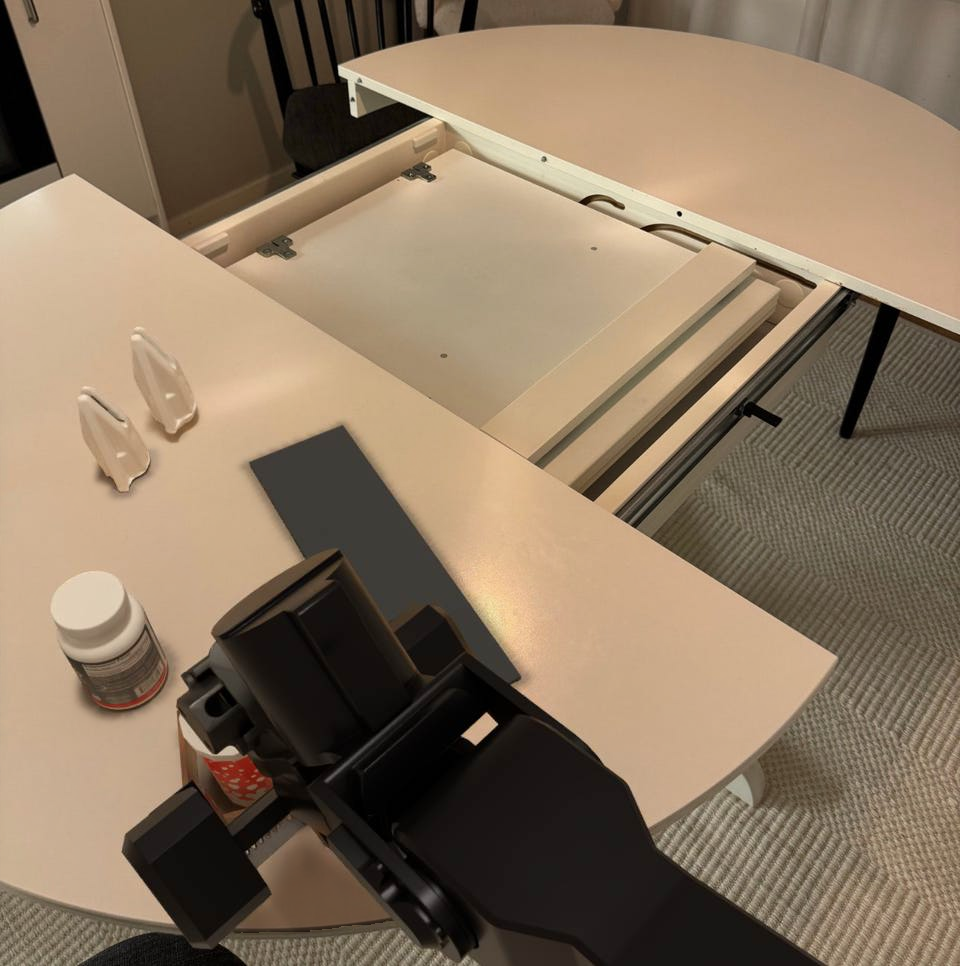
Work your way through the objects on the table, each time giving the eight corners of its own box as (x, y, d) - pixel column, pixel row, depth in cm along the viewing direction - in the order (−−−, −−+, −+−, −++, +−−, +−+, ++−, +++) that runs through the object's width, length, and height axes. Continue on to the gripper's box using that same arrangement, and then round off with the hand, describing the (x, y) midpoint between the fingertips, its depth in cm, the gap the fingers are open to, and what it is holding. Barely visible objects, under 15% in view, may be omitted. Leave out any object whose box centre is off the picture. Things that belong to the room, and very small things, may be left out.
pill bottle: (86, 654, 71) (41, 574, 63) (165, 635, 72) (129, 554, 64) (89, 722, 67) (41, 645, 60) (172, 700, 68) (135, 622, 61)
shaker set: (179, 393, 90) (148, 297, 81) (215, 408, 88) (187, 311, 80) (88, 477, 83) (44, 381, 74) (125, 494, 81) (85, 398, 73)
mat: (521, 678, 69) (521, 675, 69) (411, 737, 66) (411, 734, 66) (343, 427, 87) (342, 424, 86) (249, 464, 84) (248, 461, 83)
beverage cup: (286, 826, 62) (247, 721, 52) (196, 810, 63) (140, 704, 52) (313, 740, 66) (282, 627, 56) (228, 726, 67) (181, 612, 56)
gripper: (446, 508, 44) (321, 528, 57) (75, 788, 35) (31, 733, 48) (564, 704, 46) (418, 679, 59) (244, 1013, 37) (156, 901, 50)
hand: (268, 738), depth 54 cm, fingers open, 9 cm apart
